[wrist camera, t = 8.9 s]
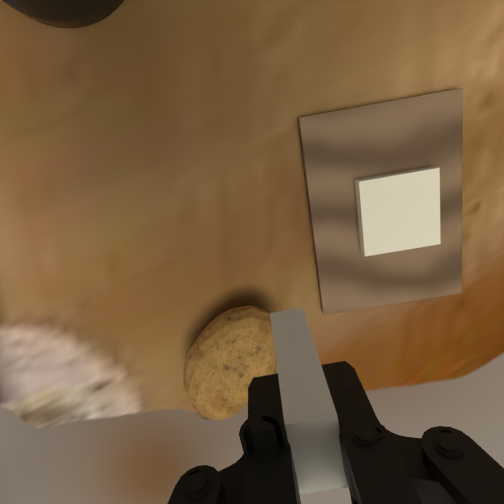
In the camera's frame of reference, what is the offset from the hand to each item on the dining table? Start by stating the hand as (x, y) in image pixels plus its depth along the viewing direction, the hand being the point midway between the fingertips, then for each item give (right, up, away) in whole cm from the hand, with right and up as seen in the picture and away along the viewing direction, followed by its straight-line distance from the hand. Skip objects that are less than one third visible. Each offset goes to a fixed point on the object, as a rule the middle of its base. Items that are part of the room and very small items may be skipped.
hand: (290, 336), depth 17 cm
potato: (-4, -7, +28) cm, 29 cm away
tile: (+10, +7, +21) cm, 25 cm away
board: (+13, +9, +23) cm, 28 cm away
